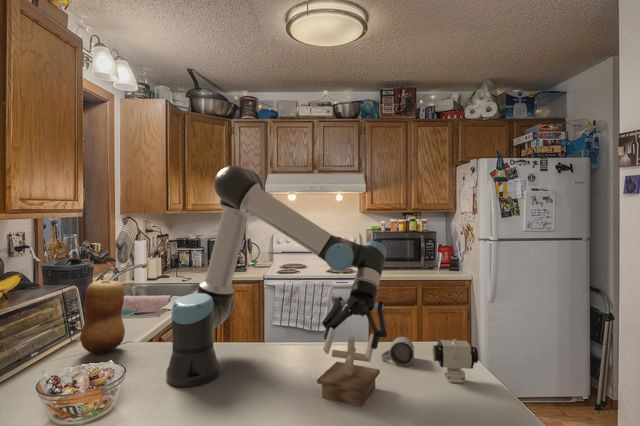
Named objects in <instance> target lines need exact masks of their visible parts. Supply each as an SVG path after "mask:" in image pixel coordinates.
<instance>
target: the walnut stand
mask: <svg viewBox="0 0 640 426" xmlns="http://www.w3.org/2000/svg"><path fill="white" fill-rule="evenodd" d="M346 368H347V367H346V366H345V362H342V361H336V362H335V363H333V364H332V365H331V366H330V367H329V368H328V369H327V370H325V372H323V374H321V375H320V376H319V377H318V378H317V379H316V383H317V384H319V385H321V389H322V390H321V391H322V392H321V393H322V394H321V397H322V398H323V399H327V400H331V401H336V402H338V403H343V404H346V405H347V404H348V405H351V406H356V407H359V408H360V407H361V408H362V407H363V406H364V405H365V403H366V402H367V400H368V399H369V397H370V396H371V395H372V394H373V392H374V390H375V389H376V379H377V378H378V376H379V375H380V372H381V371H380V370H381V369H378V368H372V367H368V366H362V365H359V364H353V375H352V376H349V375H347V374H346Z"/></svg>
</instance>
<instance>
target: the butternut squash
mask: <svg viewBox="0 0 640 426" xmlns="http://www.w3.org/2000/svg"><path fill="white" fill-rule="evenodd" d="M124 300H125V290H124V286H123V284H122V282H120V281H119V280H108V279H107V280H104V279H100V280H96V281H93V282H90V284H89V285H88V286H87V288H86V290H85V295H84V304H83V305H84V306H83V307H84V308H83V309H84V325H83V326H82V329H81V332H80V335H79V336H80V337H79V341H80V342H81V346H82V348H83V349H84V350H86V351H87V352H88V353H90V354H92V355H94V356H101V355H103V354H107V353H110V352H112V351H113V350H114V349H116V348H118V347H119V346H120V345H121V344H122V342H123V341H124V338H125V333H126V328H125V324H124V321H123V318H122V311H123V305H124Z"/></svg>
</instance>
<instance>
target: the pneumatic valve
mask: <svg viewBox="0 0 640 426" xmlns="http://www.w3.org/2000/svg"><path fill="white" fill-rule="evenodd" d="M432 356H433V360H434V362H438V364H439V367H440V368H446V369H445V370H444V378H445V379H446V380H448V382H449V383H452V384H463V383H464V381H465V380H466V373H465V371H464V370H462V369H471V370H472V369H474V366H475V364H477V363H478V362H479V352H478V349H477V347H476V346H473V345H472V343H471V342H470V341H468V340H457V338H455V339H454V338H453V339H452V340H451V339H450V340H447V339H445V340H444V339H437V343H436V344H434V345H432Z"/></svg>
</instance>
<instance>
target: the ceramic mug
mask: <svg viewBox="0 0 640 426" xmlns="http://www.w3.org/2000/svg"><path fill="white" fill-rule="evenodd" d="M380 357H381V360H382V361H385V362H386V361H392V362H393V364H396V365H397V366H400V367H406V366H408V365H410V364H412V363H413V360H414V358H415V346H414V344H413V342H412V340H411V339H409V338H408V337H406V336H398V337H396V338H395V339H394V340H393V341H392V343H391V346H390V348H389V349H387V350H386V351H384V352H382V354H380Z"/></svg>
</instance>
